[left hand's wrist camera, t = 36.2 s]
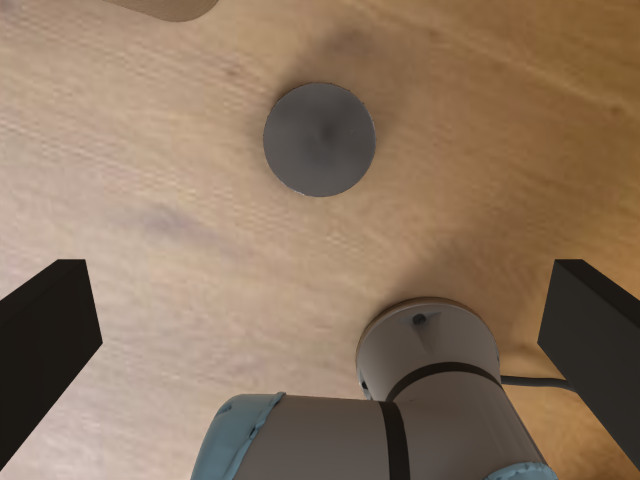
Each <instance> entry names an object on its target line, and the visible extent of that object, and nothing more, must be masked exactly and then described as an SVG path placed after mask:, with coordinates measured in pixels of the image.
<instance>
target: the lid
mask: <svg viewBox="0 0 640 480" xmlns="http://www.w3.org/2000/svg"><path fill="white" fill-rule="evenodd" d="M263 136H264V137H263V142H264V151H265V155H266V159H267V161H268V164H269V166H270V168H271V169H272V171H273V173H274V174H275V175H276V177H277V178H278V179H279V180H280V181H281V182H282V183H283V184H284V185H286V186H287V187H288V188H290V189H292V190H293V191H295V192H298V193H300V194H303V195H307V196H312V197H328V196H333V195H337V194H339V193H342V192H344V191H346V190H348V189H349V188H351V187H352V186H354V185H355V184H356V183H357V182H358V181H359V180H360V179H361V178H362V177H363V176H364V174H365V173H366V172H367V170H368V168H369V166H370V164H371V162H372V159H373V156H374V153H375V147H376V134H375V128H374V124H373V120H372V118H371V116H370V114H369V112H368V110H367V109H366V107H365V106H364V103H363V102H361V101H360V100H359V99H358V98H357V97H356V96H355V95H353V94H352V93H351V92H350V91H349V90H348V91H347V90H346V89H344V88H342V87H340V86H337V85H333V84H332V83H330V84H329V83H313V82H311V83H310V84H306V85H302V86H300V87H297V88H293V90H292V91H290V92H289V93H287V94H286V95H285V96H283V97H282V98H281V99H279V100H278V102H277V103H276V105H275V106H274V108H273V109H272V111H271V112H270V114H269V116H268V119H267V122H266V125H265V129H264V134H263Z"/></svg>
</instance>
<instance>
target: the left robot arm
mask: <svg viewBox="0 0 640 480" xmlns="http://www.w3.org/2000/svg"><path fill="white" fill-rule="evenodd" d="M102 343H103V341H102V337H101V332H100V327H99V322H98V318H97V313H96V308H95V303H94V299H93V294H92V289H91V284H90V280H89V275H88V270H87V265H86V261H85V259H58V260H56V261H55V262H53V263H52V264H51V265H49V266H48V267H46V268H45V269H44V270H42V271H41V272H40V273H38V274H37V275H35V276H34V277H33V278H31V279H30V280H28V281H27V282H26V283H24V284H23V285H21V286H20V287H19V288H17V289H16V290H14V291H13V292H12V293H10V294H9V295H8V296H6V297H5V298H3V299H2V300H1V301H0V471H1V470H2V469H3V467H4V466H5V465H6V464H7V462H8V461H9V460H10V459H11V457H12V456H13V455H14V454H15V452H16V451H17V450H18V449H19V447H20V446H21V445H22V444H23V442H24V441H25V440H26V439H27V437H28V436H29V435H30V434H31V432H32V431H33V430H34V429H35V427H36V426H37V425H38V424H39V422H40V421H41V420H42V419H43V417H44V416H45V415H46V414H47V412H48V411H49V410H50V409H51V407H52V406H53V405H54V404H55V402H56V401H57V400H58V399H59V397H60V396H61V395H62V394H63V392H64V391H65V390H66V389H67V387H68V386H69V385H70V384H71V382H72V381H73V380H74V379H75V377H76V376H77V375H78V374H79V372H80V371H81V370H82V369H83V367H84V366H85V365H86V363H87V362H88V361H89V360H90V358H91V357H92V356H93V355H94V353H95V352H96V351H97V350H98V348H99V347H100V346H101V345H102ZM537 343H538V345H539V346H540V347H541V348H542V350H543V351H544V352H545V353H546V355H547V356H548V357H549V358H550V360H551V361H552V362H553V363H554V365H555V366H556V367H557V369H558V370H559V371H560V372H561V374H562V375H563V376H564V377H565V379H566V380H567V381H566V380H562V379H555V378H526V377H514V376H503V375H500V371H499V366H500V363H499V353H498V348H497V345H496V342H495V339H494V337H493V335H492V333H491V332H490V330H489V329H488V327H487V325H486V324H485V322H484V321H483V320H482V319H481V318H480V317H479V316H478V315H477V314H476V313H475V312H474V311H473V310H471V309H470V308H468V307H467V306H465V305H463V304H461V303H458V302H456V301H452V300H449V299H444V298H435V297H425V298H417V299H412V300H408V301H404V302H402V303H399V304H397V305H394V306H392V307H390V308H389V309H387V310H385V311H384V312H382V313H381V314H380V315H379V316H377V317H376V318H375V319H374V320H373V321H372V322H371V323H370V324H369V326H368V327H367V328H366V330H365V331H364V333H363V334H362V336H361V338H360V341H359V343H358V347H357V351H356V369H357V376H358V381H359V384H360V386H361V389H362V391H363V393H364V395H365V397H366V398H367V400H357V399H340V398H325V397H310V396H295V395H286V392H278V393H277V394H241V395H237V396H234V397H232V398H231V399H229V400H228V401H227V402H225V403H224V404H223V405H222V407H221V408H220V409H219V410H218V412H217V414H216V415H215V417H214V419H213V421H212V423H211V425H210V427H209V429H208V431H207V433H206V436H205V438H204V440H203V443H202V446H201V448H200V451H199V454H198V457H197V460H196V463H195V466H194V469H193V472H192V476H191V479H190V480H558V478H557V476H556V474H555V472H554V471H553V470H552V469H551V468H550V467H549V466H548V464H547V462H546V461H545V459H544V457H543V456H542V454H541V452H540V451H539V449H538V447H537V446H536V444H535V442H534V441H533V439H532V437H531V436H530V434H529V432H528V430H527V429H526V427H525V425H524V424H523V422H522V420H521V419H520V417H519V415H518V414H517V412H516V410H515V408H514V407H513V405H512V403H511V402H510V400H509V398H508V397H507V395H506V393H505V391H504V390H503V388H502V385H501V384H507V385H519V386H537V387H540V386H550V387H559V388H564V389H568V390H571V391H573V392H576V393H577V394H578V395H579V396H580V397H581V399H582V400H583V401H584V402H585V404H586V405H587V406H588V407H589V409H590V410H591V411H592V412H593V414H594V415H595V416H596V417H597V419H598V420H599V421H600V422H601V424H602V425H603V426H604V427H605V429H606V430H607V431H608V432H609V434H610V435H611V436H612V437H613V439H614V440H615V441H616V442H617V444H618V445H619V446H620V447H621V449H622V450H623V451H624V452H625V454H626V455H627V456H628V457H629V459H630V460H631V461H632V462H633V464H634V465H635V466H636V467H637V469H638V470H639V471H640V301H639V300H638V299H637V298H635V297H634V296H632V295H631V294H630V293H628V292H627V291H626V290H624V289H623V288H621V287H620V286H619V285H617V284H616V283H614V282H613V281H612V280H610V279H609V278H607V277H606V276H605V275H603V274H602V273H600V272H599V271H598V270H596V269H595V268H594V267H592V266H591V265H589V264H588V263H587V262H585V261H584V260H582V259H555V261H554V265H553V270H552V275H551V280H550V284H549V289H548V294H547V299H546V303H545V308H544V313H543V318H542V322H541V327H540V332H539V337H538V341H537Z"/></svg>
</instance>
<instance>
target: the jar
mask: <svg viewBox="0 0 640 480" xmlns="http://www.w3.org/2000/svg"><path fill="white" fill-rule="evenodd" d="M104 1H107V2H110V3H113V4H116V5H119V6H122V7H125V8H128V9H131V10H135V11H138V12H141V13H144V14H147V15H150V16H153V17H156V18H159V19H162V20H166V21H172V22H185V21H190V20H193V19H196V18H198V17H200V16H202V15H204V14H205V13H207V12H208V11H209V10H211V9H212V7H213V6H214V5H215V4H216V3H217V2H218V0H104Z"/></svg>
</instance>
